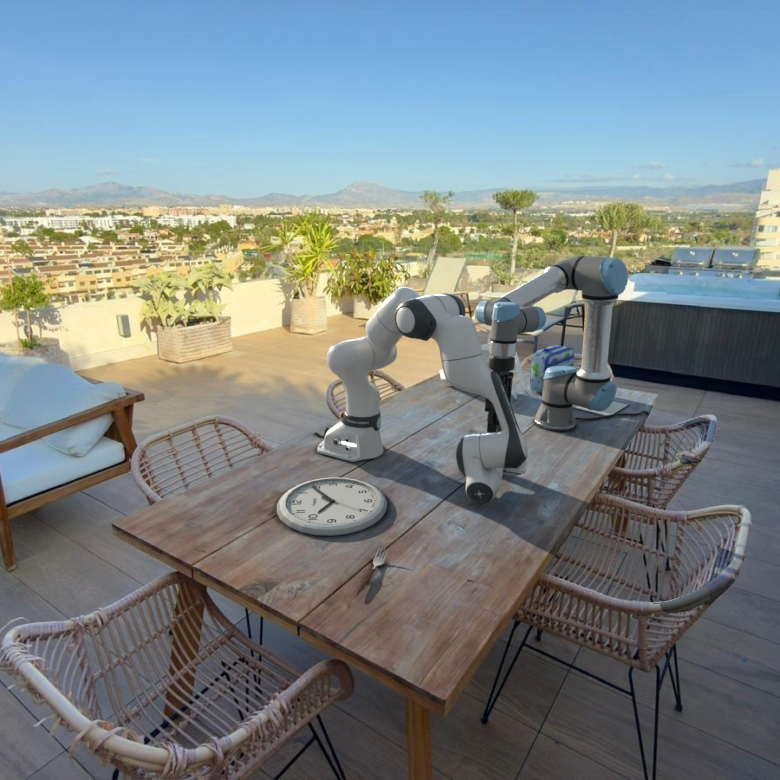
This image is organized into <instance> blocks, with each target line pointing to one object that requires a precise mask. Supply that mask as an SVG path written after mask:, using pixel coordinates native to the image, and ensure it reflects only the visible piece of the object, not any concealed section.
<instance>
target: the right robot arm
mask: <svg viewBox="0 0 780 780" xmlns="http://www.w3.org/2000/svg"><path fill="white" fill-rule="evenodd" d="M628 282H629V273H628V268H627V265H626V264H625V263H624V261H623V260H622V259H620V258H617V257H616V258H615V257H610V256H588V255H575V256H571V257H568V258H565V259H561V260H559V261H557V262H555V263H553V264H551V265H550V266H548V267H546V268H545V269H544V270H543V272H542V273H541V274H539V275H538V276H536V277H535V278H532V279H531V280H529V281H527V282H525V283H523V284H522V285H520V286H518V287H517V288H515V289H513V290H511V291H509V292H507V293H506V294H504V295H502V296H500V297H499V298H497V299H495V300H492V301H491V300H482V301H480V302H479V303H478V304H477V306H476V308H475V312H474V314H475V318H476V320H477V322H478V323H480V324H483V325H486V326H487V327H488V326H491V329H490V330H491V331H490V342H489V343H488V344H489V345H490V354H491V355H490V356H489V368H490V369H492V370H493V372H496V373H497V374H498V375H499V377H500V379H501V381H502V383H503V385H504V388H505V390H506V393H507V396H508V398H509V401H510V403H511V402H512V394H511V392H512V381H513V378H514V369H515V367H516V366H515V358H514V356H515V355H516V352H517V343H518V335H520V334H526V333H535V332H536V331H540V330H542V329H543V328H544V327H545V325H546V322H547V314H546V312H545V310H544V309H543V308H542V307H540V306H537V305H535V304H537V303H539V302H540V301H542V300H544V299H545V298H547V297H549V296H551V295H553V294H558V293H561V292H563V291H567V290H568V291H569V290H571V291H572V290H573V291H581V299H582V300H583V302H585V311H584V312H585V313H584V322H583V323H584V325H583V337H582V338H583V339H582V351H581V363H580V368H579V369H578V368H577V367H576V366H573V367H572V366H554V367H550V368H547V369H546V371H545V374H544V378H543V379H544V382H543V391H542V393H541V402H540V405H539V407H538V409H537V410H536V413H535V416H534V424H535V425H536V426H537V427H539V428H542V429H544V430H549V431H556V432H567V431H572V430H574V429H575V428H576V420H577V421H578V420H579V421H594V420H601V419H607V418H611V417H616V416H617V417H618V416H640V415H642V414H646V415H650V413H649V412H648V411H647V410H642V411H640V412H633V413H631V412H630V413H628V412H627V413H626V412H625V413H624V412H621V413H619V412H617V413H614V414H612V415H607V416H604V415H600V416H595V417H576V416H575V413H574V407H573V405H574V406H580V407H583V408H587V409H589V410H594V411H598V412H601V411H604V410H605V409H607V408H608V407H609V406H610V404H611V403H612V401H614V400H615V398H616V394H617V389H618V387H617V384H616V382H614V381H613V380H611V379H612V378H611V377H612V376H611V375H612V374H611V372H610V371H609V370H608V361H609V350H610V338H611V330H612V329H611V328H612V318H613V317H612V316H613V307H614V303H615V302H616V301H617V300H618V299H619V296H620V295H621V294H623V293H624V292H625V290H626V288H627V287H626V286H628ZM533 305H535V306H533ZM509 371H510V372H509ZM484 412H487V418H488V421H487V425H486V433H487V432H490V433H492V432H496V428H497V414H496V411H495V408H494V406H493V404H492V402H491V401H490V400H489V399H487V398H486V397H485V404H484Z"/></svg>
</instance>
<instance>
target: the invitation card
mask: <svg viewBox="0 0 780 780" xmlns="http://www.w3.org/2000/svg"><path fill="white" fill-rule="evenodd" d="M628 406H629V404H627V403H623V402H618V401H614V400H613V401H612V403H611V404H610V406H609V407H608V408H607V409H605V410H604V411H601V412H598V411H594V410H589V409H587V408H583V407H580V406H577V405H575V406H574V407H573V409H575V410H581V411H584V412H587V413H593V414H596V415H600V416H607V415H612V414H617V413H619V411H621V410H623V409H624V408H626V407H628Z"/></svg>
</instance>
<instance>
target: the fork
mask: <svg viewBox="0 0 780 780" xmlns="http://www.w3.org/2000/svg"><path fill="white" fill-rule="evenodd" d="M380 547H381V545H379V546H378V549H377V551H376V554H375V557H374V558H373V561H372V563H373V567H372V568H371V569H370V570H369V571H368V573H367V574H366V575H365V576H364V578H363V580H362V582H361V584H360V586H359V589H357V592H356V596H359V594H360V593H361V591H362V590H363V589H364V587H365V586H367V584H368V583H369V581H370V580H371V579H372V576H373V574H374V571H375V569H376V568H377V567H379V566H382V565H384V564H385V562H386V559H387V556H388V552H389V549H387V550H386V548H387V546H385V547H383V546H382V548H381V550H380ZM383 548H384V550H383ZM379 551H380V552H379ZM382 551H383V552H382ZM385 551H386V552H385Z"/></svg>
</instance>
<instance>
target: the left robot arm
mask: <svg viewBox="0 0 780 780" xmlns="http://www.w3.org/2000/svg"><path fill="white" fill-rule="evenodd" d="M365 333H366V335H364V336H362V337H359V338H353V339H346V340H342V341H340V342H338V343H336V344H333V345H331V346H330V347H329V348H328V349H327V353H326V364H327V367H328V369H329V370H330V371H331V372H332V373H333V374H334V375H336V376H337V377H338V378H339V379H340V381H341V384H342V385H343V389H344V393H345V394H344V395H345V408H344V409H343V411H341V412H340V414H339V417H338V419H340V421H338V422H337V423H334V424H331V425H327V426H326V427H325V429H324V432H323V435H321V434H320V433H318V432H314V435H315V436H317V437H318V438H321V439H323V440H322V441H321V442H320V443H319V444H318V445H317V449H316V451H317V453H318V454H321V455H325V456H328V457H333V458H336V459H339V460H343V461H347V462H351V463H357V462H360V461H363V460H371V459H375V458H379V457H380V456H382V455H383V453H384V452H385V450H384V446H383V442H382V438H381V436H382V435H381V426H382V425H381V424H382V417H381V410H380V389H379V388H378V386H377V385H375V384H374V383H373V382H370V381H369V376H368V373H369V372H372V371H377V370H379V369H383V368H386V367H387V366H390V365H391V364H393V363H394V362H395V361H396V359H397V356H398V348H397V344H398V342H399V341H400V340H401V339H402V338H403V336H404V337H406V338H409V339H414V340H421V341H424V342H427V341H429V340H430V339H432V340H434V341H435V342H436V344H437V346H438V349H439V350H438V351H439V356H440V361H441V367H442V369H443V372H444V375H445V378H446V380H447V381H448V382H449V383H450V386H452V387H453V388H455V389H457V390H460V391H462V392H465V393H470V394H475V395H479V396H482V397H484V398H485V399H486V398H487V399H489V400H490V401H491V402H492V404H493V406H494V408H495V411H496V414H497V417H498V420H499V422H500V425H501V428H502V431H500V432H492V433H487V432H483V433H482V432H479V433H472V434H471V433H470V434H464V435H463V436H462V437H461V438H460V440H459V442H458V444H457V446H456V450H455V457H456V465H457V470H458V474H459V475H461V476H462V477H465V494H466V497H467V498H468V499H469V500H470V501H471V502H473V503H476V504H479V505H481V504H483V505H484V504H489V503H490V502H491V501H493V500H494V499H495V497H496V496H497V494H498V492H499V489H500V487H501V481H502V479H503V475H510V476H521V475H523V474H526V472H527V471H526V470H527V468H526V467H527V459H528V445H527V442H526V439H525V438H524V436H523V434H522V431H521V429H520V427H519V424H518V422H517V419H516V416H515V412H514V410H513V407H512V403H511V402H510V401H509V398H508V396H507V393H506V390H505V388H504V385H503V383H502V381H501V379H500V377H499V375H498V374H497V373H496V372H493V371H491V370H490V369H489V368H488V366H487V365H486V363H485V361H484V358H483V354H482V349H481V345H482V344H481V340H480V337H479V334H478V330H477V328H476V325H475V323H474V321H473V319H471V318H470V317H468V316H466V306H465V304H464V302H463V300H462V299H461V298H460V297H459V296H457V295H455V294H453V293H446V292H445V293H434V294H426V295H422V296H421V295H420V294H419V293H418V292H417V291H416V290H415V289H413V288H411V287H408V286H400V287H398V288H396V289H395V290H393V292H391V293H390V294H389V295H388V296H387V297H386V298H385V299H384V300H383V301H381V303H380V305H379V306H378V307H377V308H376V310H375V311H374V312H373V314H372V315H371V316H370V317H369V318H368V320H367V321H366V323H365Z"/></svg>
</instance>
